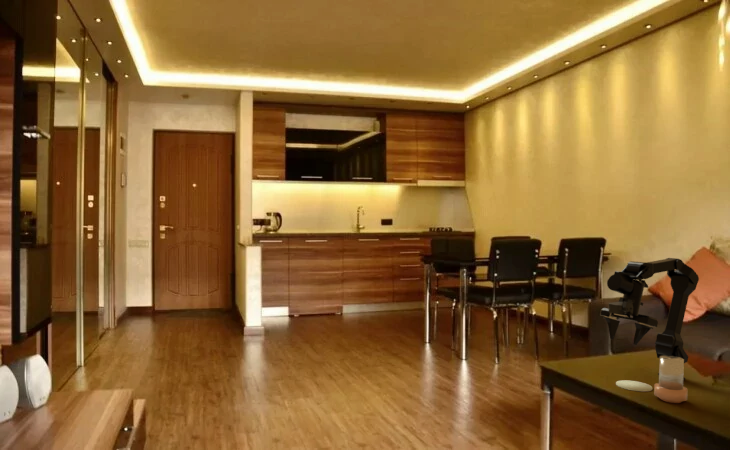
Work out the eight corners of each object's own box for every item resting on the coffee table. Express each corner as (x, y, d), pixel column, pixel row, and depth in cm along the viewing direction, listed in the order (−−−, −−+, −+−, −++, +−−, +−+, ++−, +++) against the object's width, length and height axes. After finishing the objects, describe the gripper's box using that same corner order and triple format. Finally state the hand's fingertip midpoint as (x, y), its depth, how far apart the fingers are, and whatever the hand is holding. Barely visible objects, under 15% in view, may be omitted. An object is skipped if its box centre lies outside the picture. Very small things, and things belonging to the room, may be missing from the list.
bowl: (673, 395, 177) (674, 382, 177) (694, 404, 168) (694, 391, 168) (647, 395, 176) (648, 382, 176) (666, 404, 167) (667, 391, 167)
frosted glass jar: (673, 383, 176) (674, 355, 175) (688, 390, 169) (688, 360, 169) (654, 384, 175) (655, 355, 175) (668, 390, 168) (669, 360, 168)
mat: (638, 381, 192) (638, 380, 192) (659, 391, 181) (659, 389, 181) (609, 381, 190) (609, 380, 190) (628, 391, 179) (628, 390, 179)
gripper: (594, 288, 194) (584, 332, 193) (641, 295, 178) (631, 343, 176) (615, 295, 199) (606, 338, 197) (663, 303, 182) (653, 349, 181)
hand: (622, 341), depth 188 cm, fingers open, 9 cm apart
